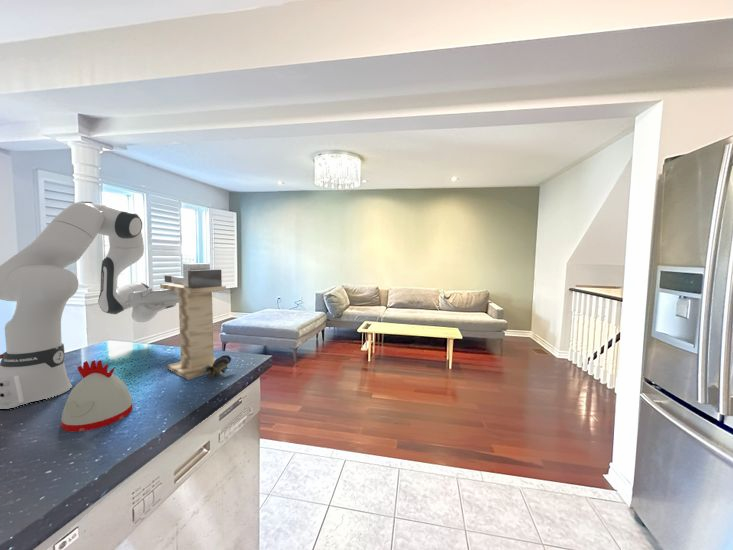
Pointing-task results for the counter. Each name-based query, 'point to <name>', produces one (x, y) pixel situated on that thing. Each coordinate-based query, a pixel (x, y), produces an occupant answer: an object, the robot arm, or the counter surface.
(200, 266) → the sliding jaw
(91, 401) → the kitchen timer
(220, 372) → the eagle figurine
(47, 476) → the counter surface
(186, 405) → the counter surface
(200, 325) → the shelf
